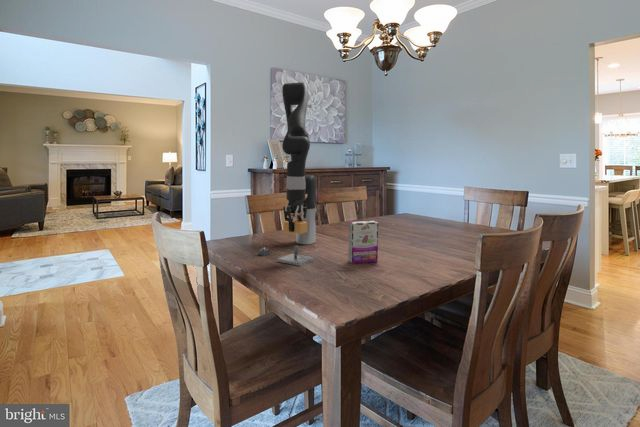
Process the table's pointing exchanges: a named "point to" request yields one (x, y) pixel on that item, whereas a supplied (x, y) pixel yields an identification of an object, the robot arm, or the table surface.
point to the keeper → (296, 258)
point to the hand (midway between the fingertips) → (295, 230)
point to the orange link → (297, 227)
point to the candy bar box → (363, 242)
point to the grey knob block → (264, 252)
